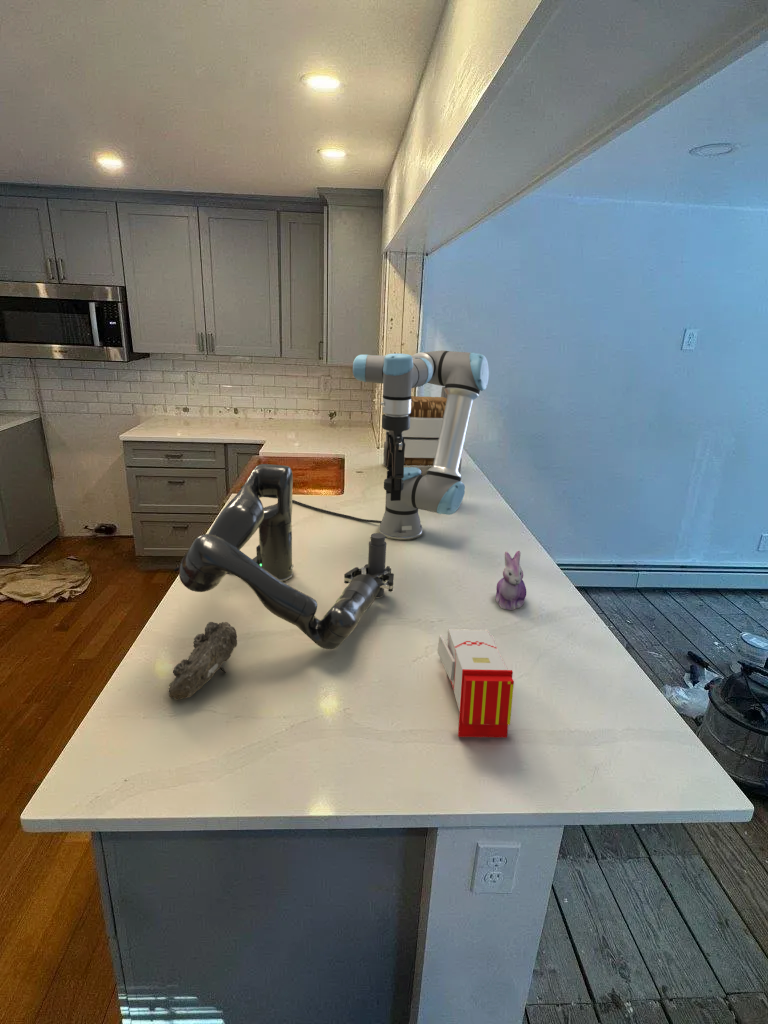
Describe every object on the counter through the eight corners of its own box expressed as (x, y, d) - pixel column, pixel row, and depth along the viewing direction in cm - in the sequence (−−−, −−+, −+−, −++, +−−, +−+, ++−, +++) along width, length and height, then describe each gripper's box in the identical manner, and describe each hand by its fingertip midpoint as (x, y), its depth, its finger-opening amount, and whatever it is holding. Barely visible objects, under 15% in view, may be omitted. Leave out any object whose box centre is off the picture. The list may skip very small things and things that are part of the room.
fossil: (191, 624, 130) (237, 594, 125) (220, 652, 133) (266, 624, 128) (146, 693, 111) (199, 661, 106) (181, 724, 114) (234, 694, 109)
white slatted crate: (382, 463, 289) (386, 382, 275) (445, 464, 293) (451, 384, 279) (390, 482, 257) (394, 392, 243) (460, 483, 261) (468, 394, 247)
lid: (394, 484, 162) (394, 476, 161) (407, 489, 158) (407, 481, 157) (379, 488, 158) (379, 479, 158) (392, 493, 155) (393, 485, 154)
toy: (488, 613, 130) (523, 677, 101) (484, 667, 133) (517, 744, 104) (435, 612, 130) (455, 676, 101) (432, 666, 133) (451, 743, 103)
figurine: (508, 614, 149) (515, 562, 144) (485, 597, 158) (490, 547, 153) (536, 607, 153) (543, 557, 148) (511, 591, 162) (518, 542, 157)
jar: (367, 598, 155) (369, 539, 149) (366, 589, 159) (368, 532, 153) (384, 597, 155) (387, 539, 150) (383, 589, 160) (385, 532, 154)
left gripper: (332, 603, 145) (354, 575, 161) (385, 613, 142) (403, 584, 157) (332, 576, 143) (355, 551, 158) (387, 586, 139) (405, 559, 154)
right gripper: (376, 407, 158) (374, 486, 167) (389, 421, 142) (386, 508, 150) (402, 407, 160) (399, 485, 168) (418, 421, 143) (413, 507, 151)
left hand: (379, 567), depth 157 cm, fingers closed on jar, 4 cm apart
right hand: (393, 496), depth 159 cm, fingers closed on lid, 5 cm apart
